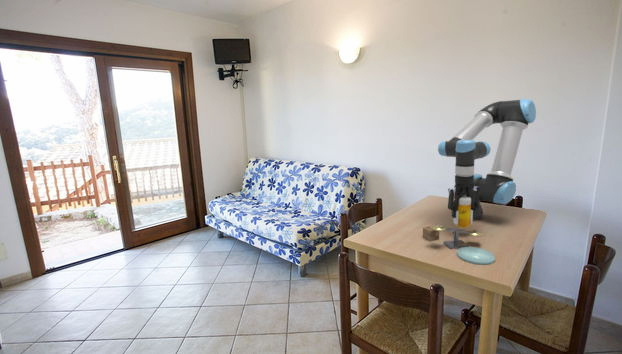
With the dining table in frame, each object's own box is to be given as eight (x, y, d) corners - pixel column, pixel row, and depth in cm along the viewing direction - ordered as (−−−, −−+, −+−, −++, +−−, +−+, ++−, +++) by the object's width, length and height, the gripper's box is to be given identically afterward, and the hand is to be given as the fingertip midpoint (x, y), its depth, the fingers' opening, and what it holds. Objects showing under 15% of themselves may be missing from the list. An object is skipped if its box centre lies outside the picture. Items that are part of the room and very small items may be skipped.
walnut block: (431, 235, 138) (431, 225, 137) (439, 239, 133) (439, 229, 132) (422, 237, 137) (422, 227, 136) (429, 241, 132) (430, 231, 131)
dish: (481, 248, 122) (481, 245, 122) (502, 263, 109) (503, 260, 109) (451, 250, 122) (451, 247, 121) (468, 265, 109) (469, 262, 109)
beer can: (452, 225, 139) (453, 195, 136) (464, 224, 139) (466, 193, 136) (460, 230, 133) (461, 198, 130) (472, 228, 133) (474, 197, 130)
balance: (475, 240, 130) (476, 221, 128) (485, 246, 124) (486, 226, 122) (427, 243, 129) (427, 224, 128) (434, 250, 123) (434, 230, 121)
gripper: (480, 171, 135) (477, 218, 140) (439, 174, 134) (438, 222, 139) (490, 174, 127) (487, 224, 132) (447, 178, 127) (446, 228, 132)
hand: (462, 223), depth 136 cm, fingers closed on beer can, 6 cm apart
